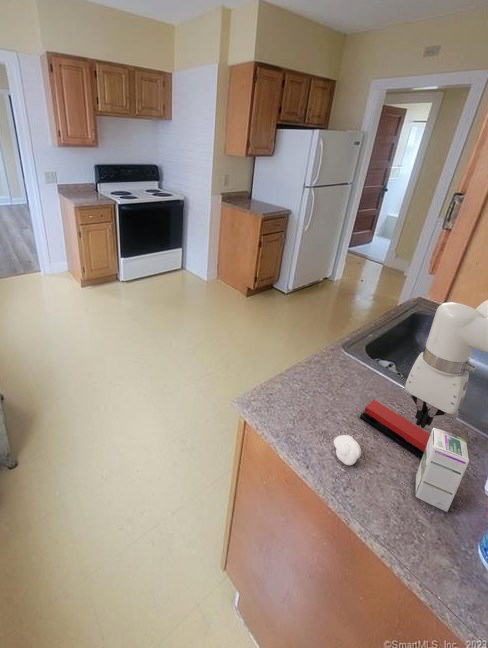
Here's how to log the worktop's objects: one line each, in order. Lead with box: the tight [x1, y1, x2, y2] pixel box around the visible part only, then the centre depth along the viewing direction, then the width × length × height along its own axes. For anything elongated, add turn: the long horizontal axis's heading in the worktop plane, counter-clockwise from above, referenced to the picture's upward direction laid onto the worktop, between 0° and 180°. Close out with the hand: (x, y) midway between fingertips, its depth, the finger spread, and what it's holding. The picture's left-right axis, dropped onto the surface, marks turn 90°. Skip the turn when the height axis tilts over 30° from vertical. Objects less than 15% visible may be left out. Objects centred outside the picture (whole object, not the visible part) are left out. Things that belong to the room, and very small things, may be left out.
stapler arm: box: [363, 399, 431, 451], centre depth 80 cm, size 15×4×2 cm, turn 38°
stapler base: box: [359, 411, 424, 460], centre depth 81 cm, size 16×5×2 cm, turn 38°
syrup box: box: [414, 427, 470, 513], centre depth 65 cm, size 6×6×14 cm
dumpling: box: [333, 434, 362, 466], centre depth 75 cm, size 7×5×4 cm
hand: (422, 423), depth 75 cm, fingers closed
